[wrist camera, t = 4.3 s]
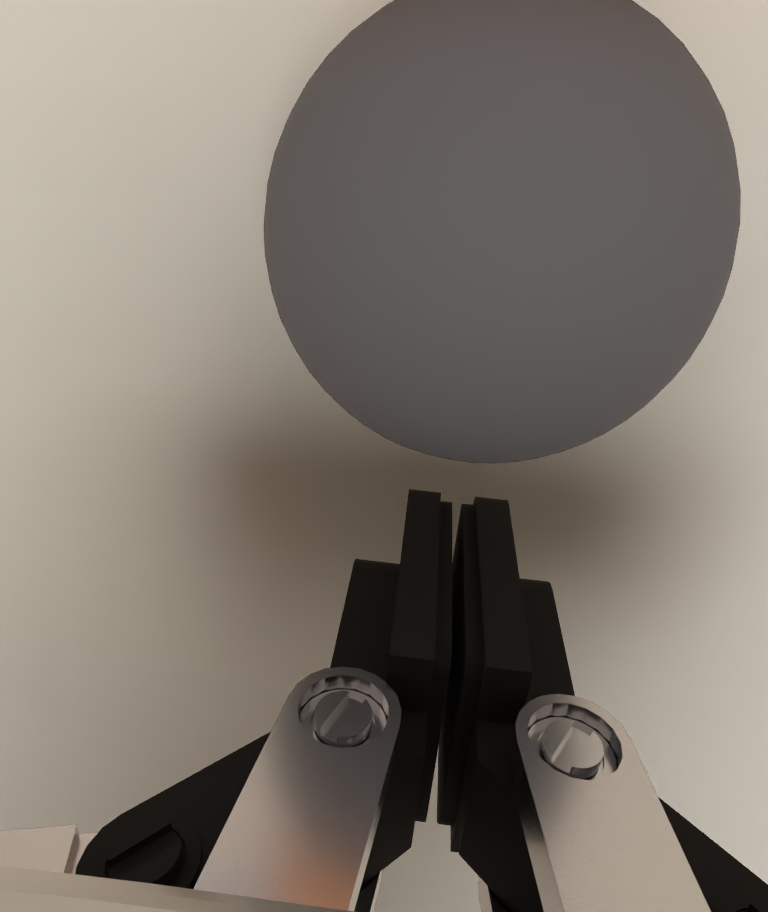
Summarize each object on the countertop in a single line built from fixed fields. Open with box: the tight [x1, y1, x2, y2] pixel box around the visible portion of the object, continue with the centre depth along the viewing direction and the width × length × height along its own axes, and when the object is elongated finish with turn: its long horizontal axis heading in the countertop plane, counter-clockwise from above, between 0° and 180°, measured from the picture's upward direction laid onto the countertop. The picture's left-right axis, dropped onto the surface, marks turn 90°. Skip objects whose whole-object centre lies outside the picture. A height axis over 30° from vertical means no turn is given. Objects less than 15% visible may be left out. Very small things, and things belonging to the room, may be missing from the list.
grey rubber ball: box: [264, 0, 741, 463], centre depth 8 cm, size 6×6×6 cm
